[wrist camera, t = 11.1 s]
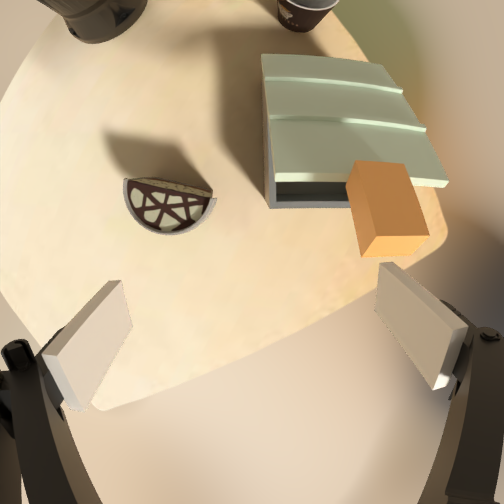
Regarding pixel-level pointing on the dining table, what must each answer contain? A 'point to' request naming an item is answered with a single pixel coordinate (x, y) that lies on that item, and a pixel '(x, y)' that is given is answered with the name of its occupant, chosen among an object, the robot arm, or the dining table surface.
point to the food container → (167, 204)
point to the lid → (352, 144)
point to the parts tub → (296, 182)
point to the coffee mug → (303, 13)
